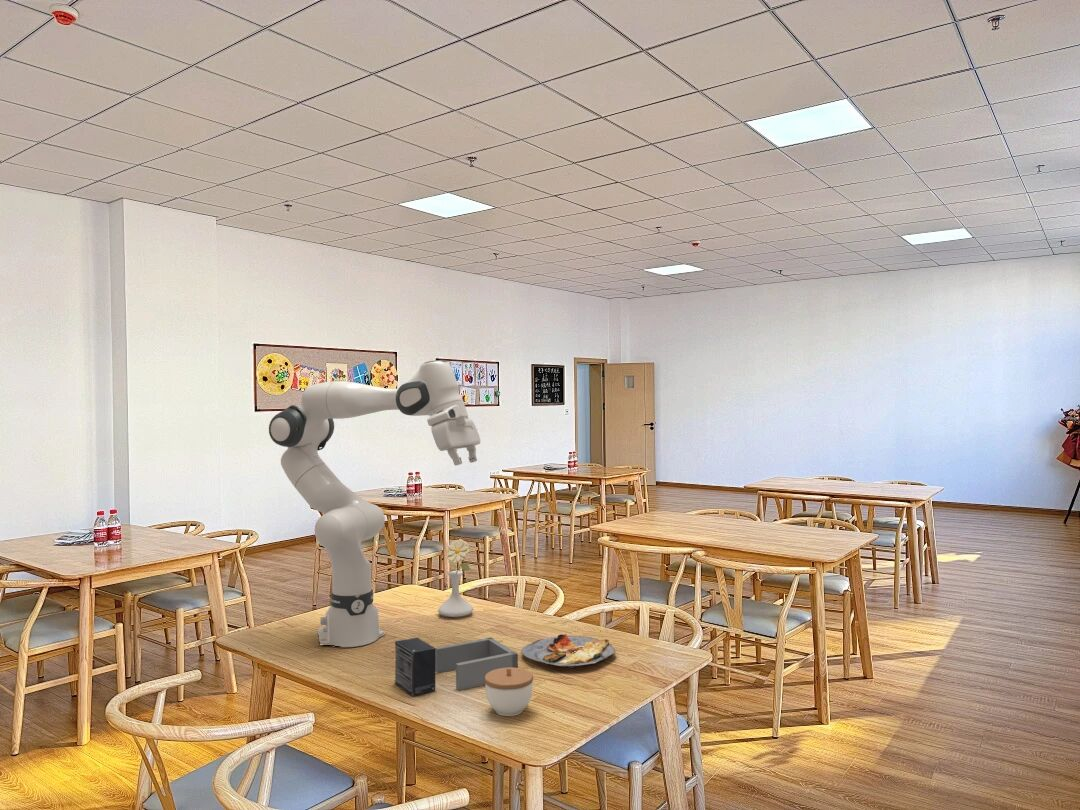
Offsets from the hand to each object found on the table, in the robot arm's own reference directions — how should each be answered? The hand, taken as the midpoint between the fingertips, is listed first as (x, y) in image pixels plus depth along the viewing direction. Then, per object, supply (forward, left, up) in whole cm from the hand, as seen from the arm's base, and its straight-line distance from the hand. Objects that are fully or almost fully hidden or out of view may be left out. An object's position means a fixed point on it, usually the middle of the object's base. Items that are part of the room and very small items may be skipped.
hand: (466, 463), depth 203 cm
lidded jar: (+39, -8, -52) cm, 66 cm away
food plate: (+16, +22, -52) cm, 59 cm away
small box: (+15, -21, -52) cm, 58 cm away
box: (+15, -5, -52) cm, 54 cm away
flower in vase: (-36, +12, -52) cm, 64 cm away
